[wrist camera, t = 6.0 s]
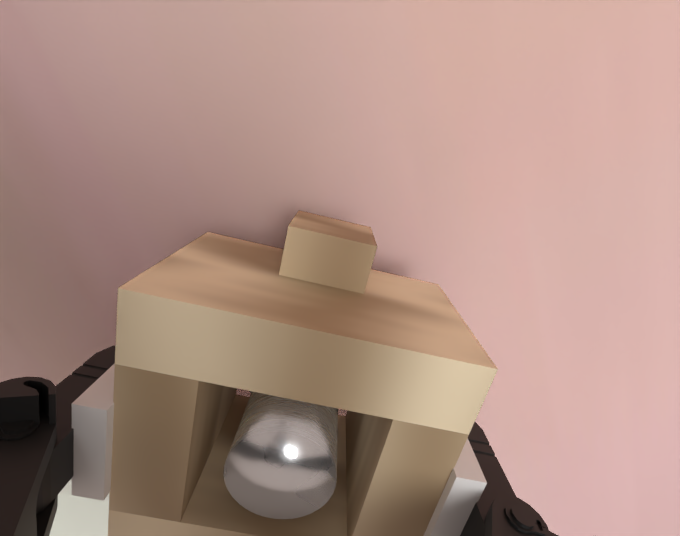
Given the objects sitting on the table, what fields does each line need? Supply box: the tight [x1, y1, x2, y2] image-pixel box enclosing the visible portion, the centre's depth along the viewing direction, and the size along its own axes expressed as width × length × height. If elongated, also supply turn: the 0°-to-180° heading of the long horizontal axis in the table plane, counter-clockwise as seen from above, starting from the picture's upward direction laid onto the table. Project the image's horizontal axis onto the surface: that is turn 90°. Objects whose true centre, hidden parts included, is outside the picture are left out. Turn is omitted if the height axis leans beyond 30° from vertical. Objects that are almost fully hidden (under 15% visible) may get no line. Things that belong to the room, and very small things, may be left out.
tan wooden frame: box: [108, 211, 498, 536], centre depth 11 cm, size 8×9×5 cm
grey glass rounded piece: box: [223, 391, 338, 519], centre depth 13 cm, size 7×7×8 cm
